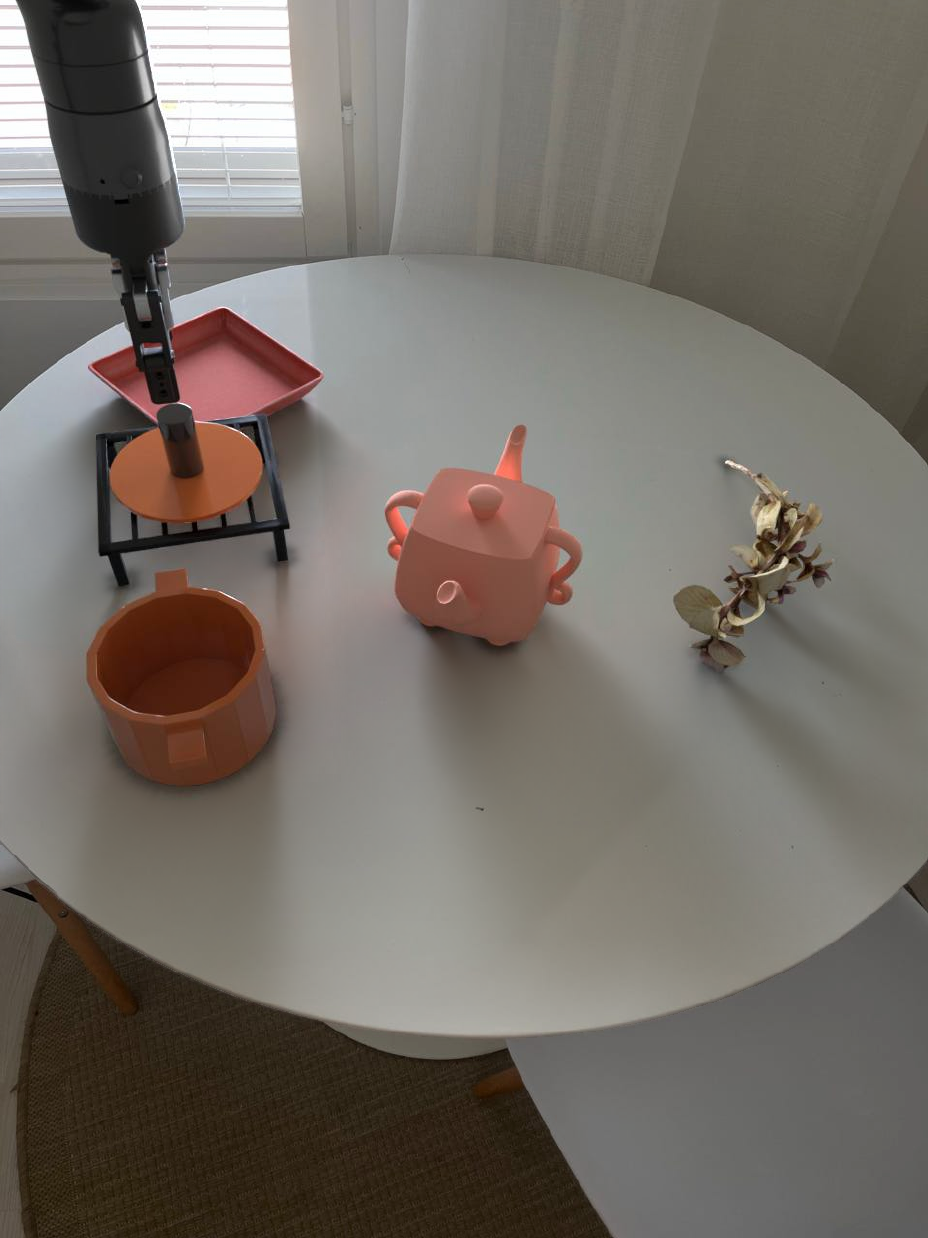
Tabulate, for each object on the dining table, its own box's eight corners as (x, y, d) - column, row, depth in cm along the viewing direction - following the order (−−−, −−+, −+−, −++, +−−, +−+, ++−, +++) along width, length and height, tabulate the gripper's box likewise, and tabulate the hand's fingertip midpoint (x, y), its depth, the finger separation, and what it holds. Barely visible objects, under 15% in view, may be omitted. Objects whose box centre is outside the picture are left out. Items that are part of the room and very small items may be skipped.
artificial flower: (793, 497, 97) (823, 711, 76) (664, 466, 97) (659, 672, 76) (833, 423, 91) (879, 636, 70) (694, 390, 91) (699, 593, 70)
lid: (114, 539, 77) (92, 475, 72) (110, 440, 85) (90, 376, 80) (273, 516, 80) (263, 453, 74) (254, 423, 88) (244, 359, 83)
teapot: (511, 520, 88) (524, 414, 79) (594, 644, 79) (621, 540, 69) (366, 561, 84) (361, 454, 74) (436, 697, 74) (440, 594, 65)
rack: (112, 591, 80) (98, 552, 76) (108, 474, 90) (95, 433, 86) (294, 563, 83) (289, 524, 79) (271, 453, 93) (265, 413, 89)
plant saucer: (329, 398, 99) (327, 372, 97) (192, 472, 90) (186, 446, 88) (228, 329, 107) (223, 303, 104) (91, 391, 98) (83, 364, 95)
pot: (118, 834, 65) (87, 773, 59) (112, 645, 76) (85, 576, 70) (291, 798, 68) (280, 736, 61) (261, 620, 79) (248, 551, 72)
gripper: (59, 124, 65) (112, 326, 77) (57, 218, 56) (117, 429, 69) (167, 120, 67) (202, 318, 79) (182, 210, 58) (218, 417, 70)
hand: (163, 369), depth 74 cm, fingers open, 8 cm apart
